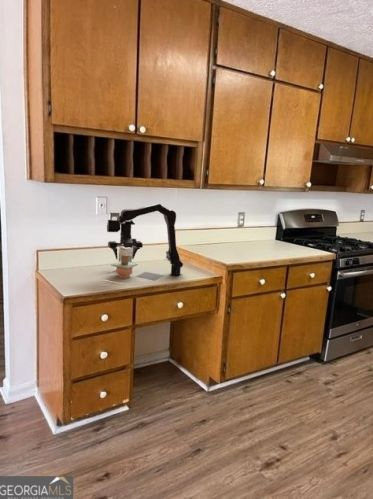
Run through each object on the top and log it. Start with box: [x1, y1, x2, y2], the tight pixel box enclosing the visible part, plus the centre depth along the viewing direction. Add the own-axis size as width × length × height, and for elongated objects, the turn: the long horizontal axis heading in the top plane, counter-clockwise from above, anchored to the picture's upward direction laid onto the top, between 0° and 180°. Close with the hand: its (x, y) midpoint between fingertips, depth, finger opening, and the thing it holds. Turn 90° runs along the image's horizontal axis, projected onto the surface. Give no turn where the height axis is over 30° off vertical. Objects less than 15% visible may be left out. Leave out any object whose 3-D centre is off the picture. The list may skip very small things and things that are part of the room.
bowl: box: [115, 267, 133, 279], centre depth 215 cm, size 9×9×7 cm
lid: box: [110, 255, 139, 269], centre depth 214 cm, size 11×11×6 cm
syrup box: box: [118, 246, 133, 263], centre depth 230 cm, size 6×6×14 cm
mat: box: [134, 271, 165, 281], centre depth 219 cm, size 13×13×1 cm
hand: (124, 259), depth 213 cm, fingers open, 9 cm apart
